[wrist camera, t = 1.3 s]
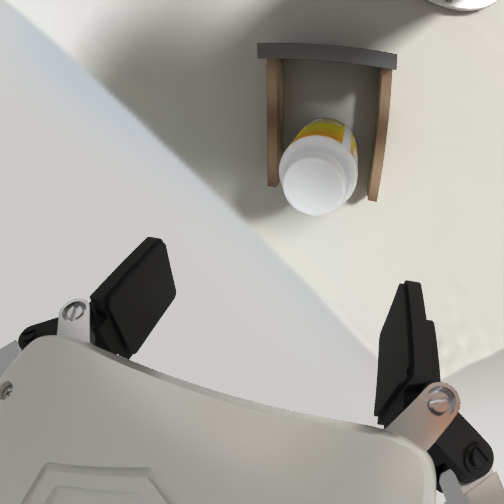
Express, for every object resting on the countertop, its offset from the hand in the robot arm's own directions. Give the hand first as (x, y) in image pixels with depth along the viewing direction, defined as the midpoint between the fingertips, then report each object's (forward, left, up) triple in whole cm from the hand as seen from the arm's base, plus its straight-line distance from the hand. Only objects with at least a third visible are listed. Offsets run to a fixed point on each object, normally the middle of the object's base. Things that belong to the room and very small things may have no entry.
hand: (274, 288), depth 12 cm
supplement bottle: (0, 0, -20) cm, 20 cm away
